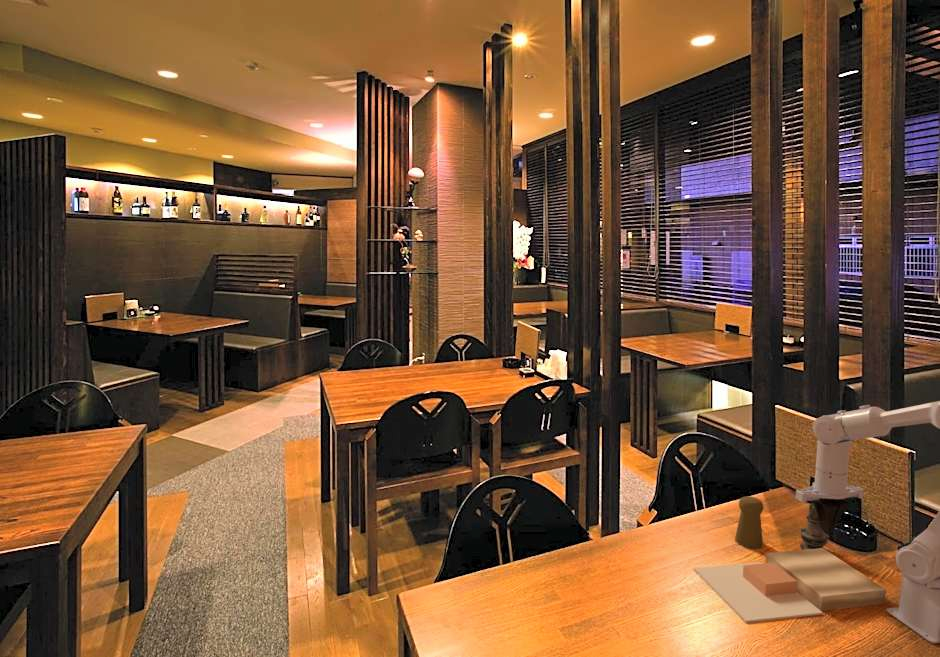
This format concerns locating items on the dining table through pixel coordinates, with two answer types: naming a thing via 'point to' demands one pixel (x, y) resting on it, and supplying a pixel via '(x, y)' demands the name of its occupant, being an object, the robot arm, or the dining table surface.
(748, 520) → the cork
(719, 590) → the mat
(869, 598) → the serving board
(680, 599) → the dining table surface
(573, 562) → the dining table surface
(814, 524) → the dark chess piece
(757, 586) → the coaster
